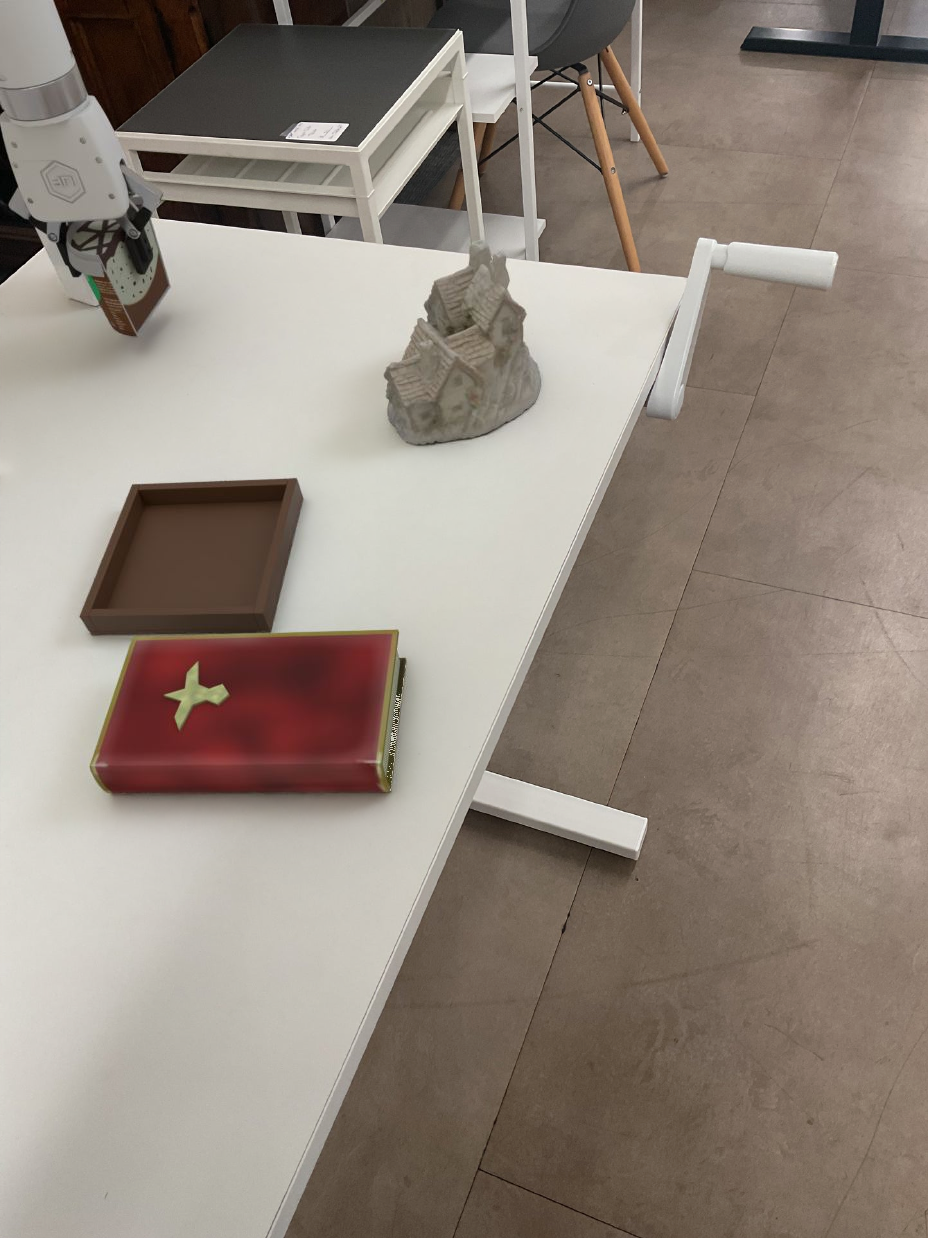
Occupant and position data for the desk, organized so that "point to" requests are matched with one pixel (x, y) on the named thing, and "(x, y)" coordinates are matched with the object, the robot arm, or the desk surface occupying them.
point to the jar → (68, 274)
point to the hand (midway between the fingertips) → (112, 267)
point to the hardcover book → (253, 714)
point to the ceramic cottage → (464, 358)
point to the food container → (118, 272)
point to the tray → (195, 558)
